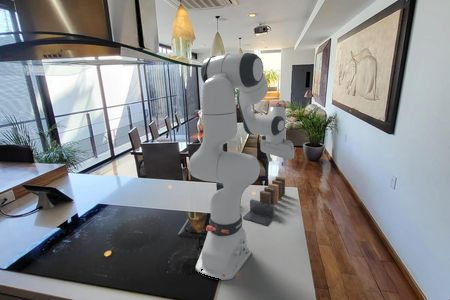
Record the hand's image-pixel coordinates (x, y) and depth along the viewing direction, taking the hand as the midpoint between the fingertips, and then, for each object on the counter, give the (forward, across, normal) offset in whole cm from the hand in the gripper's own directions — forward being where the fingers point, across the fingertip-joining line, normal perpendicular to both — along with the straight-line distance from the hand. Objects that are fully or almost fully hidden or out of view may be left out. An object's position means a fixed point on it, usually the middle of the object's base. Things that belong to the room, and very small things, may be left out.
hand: (276, 163), depth 125 cm
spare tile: (+20, -2, +5) cm, 21 cm away
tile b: (+20, 0, 0) cm, 20 cm away
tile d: (+20, -4, +9) cm, 22 cm away
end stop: (+20, -8, +21) cm, 30 cm away
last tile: (+20, -5, +14) cm, 25 cm away
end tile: (+20, +2, -5) cm, 21 cm away
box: (+20, +16, +23) cm, 35 cm away
